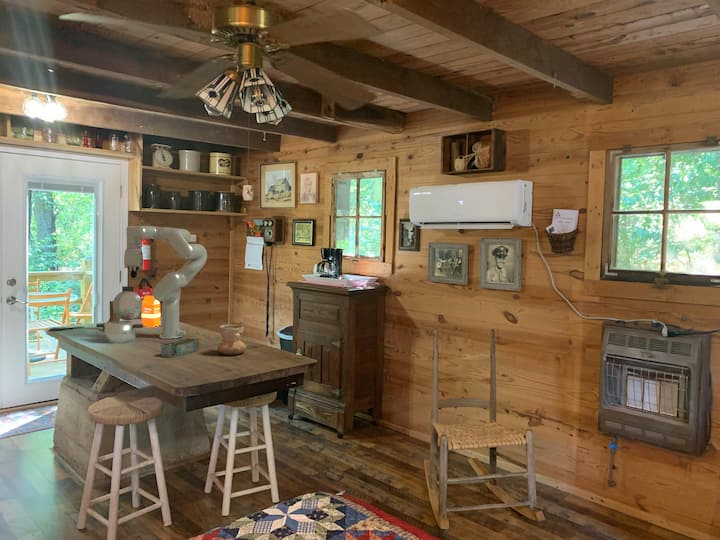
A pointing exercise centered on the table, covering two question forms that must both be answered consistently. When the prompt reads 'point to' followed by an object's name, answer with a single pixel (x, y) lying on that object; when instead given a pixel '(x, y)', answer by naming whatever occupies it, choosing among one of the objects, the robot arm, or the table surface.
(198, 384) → the table surface
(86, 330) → the table surface
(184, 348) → the grey-green rectangular block
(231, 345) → the ceramic jug
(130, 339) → the pot
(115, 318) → the wooden block
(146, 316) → the orange juice
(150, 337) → the table surface
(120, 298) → the lid
